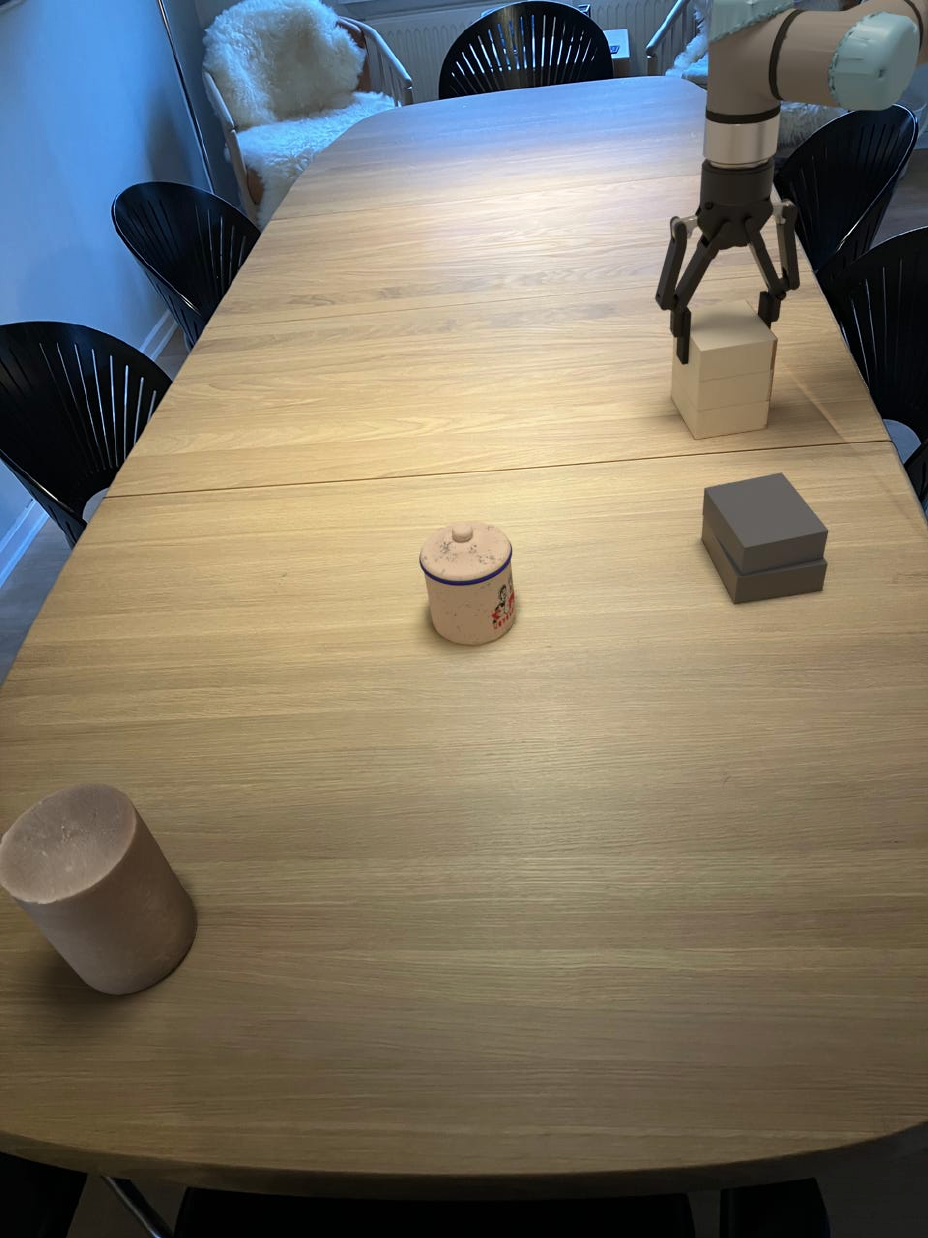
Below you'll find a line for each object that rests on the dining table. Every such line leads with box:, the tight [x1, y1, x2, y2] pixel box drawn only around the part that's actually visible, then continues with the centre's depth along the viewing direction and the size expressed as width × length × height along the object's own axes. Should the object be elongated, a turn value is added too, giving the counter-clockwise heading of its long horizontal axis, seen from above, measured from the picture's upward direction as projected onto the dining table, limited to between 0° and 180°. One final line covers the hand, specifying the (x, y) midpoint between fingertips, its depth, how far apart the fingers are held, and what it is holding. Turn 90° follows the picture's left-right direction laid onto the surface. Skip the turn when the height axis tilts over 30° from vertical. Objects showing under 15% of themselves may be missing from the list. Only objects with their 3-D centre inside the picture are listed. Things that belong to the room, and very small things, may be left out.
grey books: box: [700, 472, 829, 605], centre depth 94 cm, size 9×11×7 cm
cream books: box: [670, 341, 775, 440], centre depth 116 cm, size 9×11×8 cm
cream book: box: [672, 299, 779, 382], centre depth 112 cm, size 9×11×4 cm
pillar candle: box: [0, 782, 198, 996], centre depth 67 cm, size 10×10×15 cm
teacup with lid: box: [418, 521, 517, 646], centre depth 92 cm, size 12×9×12 cm
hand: (721, 352), depth 113 cm, fingers closed on cream book, 9 cm apart
